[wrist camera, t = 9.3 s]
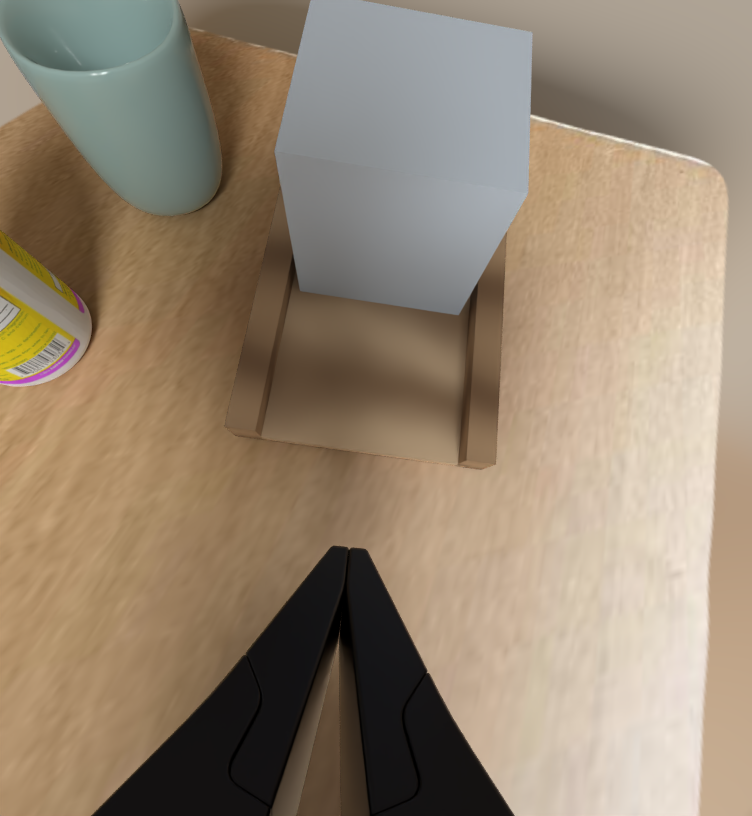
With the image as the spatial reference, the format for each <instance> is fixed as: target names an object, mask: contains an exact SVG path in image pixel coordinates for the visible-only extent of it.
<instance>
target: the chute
mask: <svg viewBox="0 0 752 816" xmlns="http://www.w3.org/2000/svg"><path fill="white" fill-rule="evenodd" d="M506 235H507V231H506V233H505V235H504V237H503V238H502V240H501V242H500V244H499V245H498V247H497V249H496V251H495V252H494V254H493V256H492V258H491V259H490V261H489V263H488V265H487V266H486V268H485V270H484V272H483V273H482V275H481V277H480V279H479V280H478V282H477V284H476V286H475V287H474V289H473V291H472V293H471V294H470V296H469V298H468V300H467V301H466V303H465V305H464V307H463V308H462V310H461V312H460V314H459V315H454V314H447V313H440V312H434V311H427V310H421V309H414V308H408V307H401V306H394V305H388V304H381V303H375V302H368V301H362V300H355V299H348V298H342V297H335V296H329V295H322V294H316V293H309V292H302V291H300V288H299V282H298V277H297V271H296V266H295V260H294V255H293V250H292V244H291V239H290V233H289V228H288V222H287V217H286V211H285V206H284V200H283V195H282V190H281V185H280V189H279V194H278V198H277V202H276V207H275V211H274V215H273V219H272V224H271V228H270V232H269V237H268V241H267V245H266V249H265V254H264V258H263V262H262V267H261V271H260V275H259V279H258V284H257V288H256V292H255V297H254V301H253V305H252V309H251V314H250V318H249V322H248V327H247V331H246V335H245V339H244V344H243V348H242V352H241V357H240V361H239V365H238V369H237V374H236V378H235V382H234V387H233V391H232V395H231V399H230V404H229V408H228V412H227V417H226V421H225V425H224V427H225V428H227V429H228V430H229V431H231V432H232V433H233V434H234V435H236V436H242V437H249V438H257V439H264V440H271V441H278V442H286V443H293V444H300V445H307V446H314V447H322V448H329V449H336V450H343V451H351V452H358V453H365V454H372V455H379V456H387V457H394V458H401V459H408V460H416V461H423V462H430V463H437V464H444V465H452V466H459V467H466V468H473V469H484V468H487V467H490V466H493V465H496V453H497V431H498V409H499V388H500V366H501V344H502V322H503V301H504V279H505V257H506Z"/></svg>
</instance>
